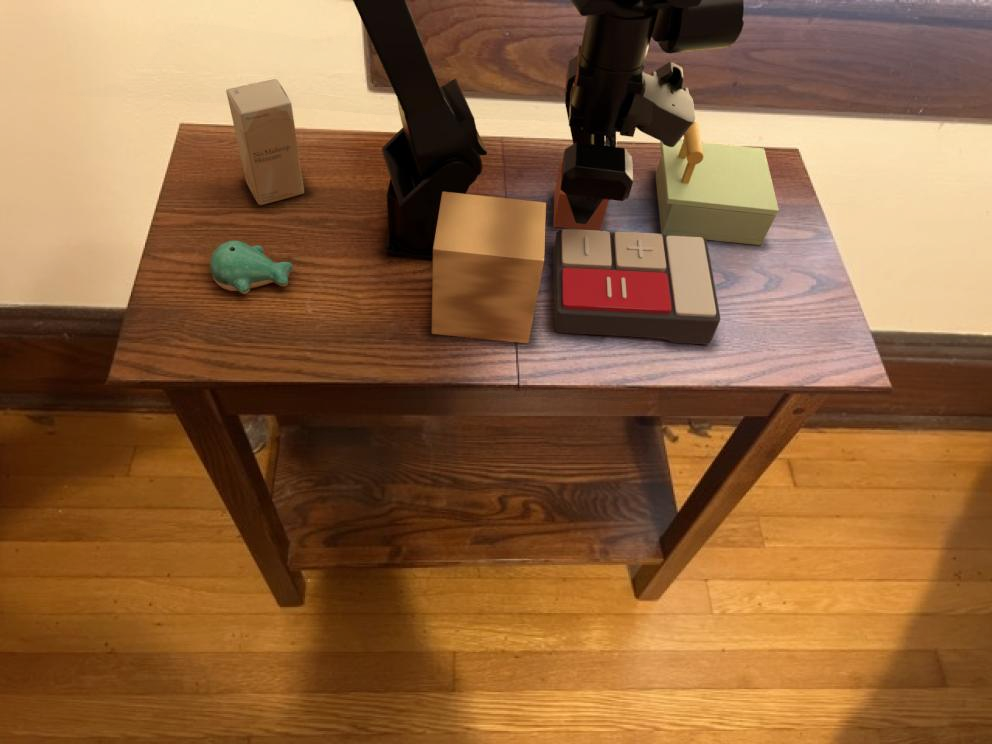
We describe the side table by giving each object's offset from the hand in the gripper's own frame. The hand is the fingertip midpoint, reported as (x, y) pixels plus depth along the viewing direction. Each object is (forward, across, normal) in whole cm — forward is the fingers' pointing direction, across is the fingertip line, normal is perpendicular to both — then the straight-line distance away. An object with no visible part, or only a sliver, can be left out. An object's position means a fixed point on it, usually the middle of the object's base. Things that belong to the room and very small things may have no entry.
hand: (581, 192), depth 77 cm
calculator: (+3, -11, -5) cm, 13 cm away
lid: (-1, +3, -14) cm, 15 cm away
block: (+3, 0, 0) cm, 3 cm away
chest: (+3, +3, -14) cm, 15 cm away
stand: (+3, -15, +9) cm, 18 cm away
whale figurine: (+3, -15, +31) cm, 34 cm away
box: (+3, -2, +32) cm, 32 cm away
